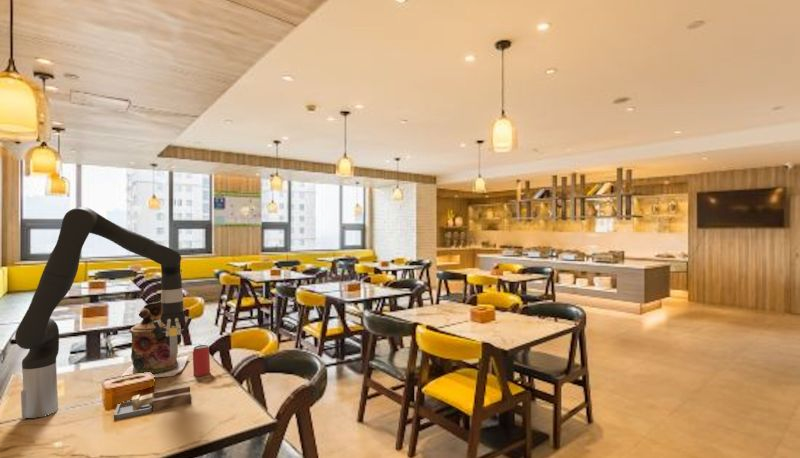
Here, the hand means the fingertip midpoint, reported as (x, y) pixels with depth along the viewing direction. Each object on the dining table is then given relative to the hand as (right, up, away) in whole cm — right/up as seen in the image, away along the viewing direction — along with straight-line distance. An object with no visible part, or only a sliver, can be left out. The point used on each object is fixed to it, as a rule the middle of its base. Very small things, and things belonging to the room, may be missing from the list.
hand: (173, 344), depth 166 cm
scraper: (0, -3, 0) cm, 3 cm away
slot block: (+4, -19, -9) cm, 21 cm away
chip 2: (-3, -17, -13) cm, 22 cm away
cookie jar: (-23, -19, +27) cm, 40 cm away
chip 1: (-5, -17, -14) cm, 22 cm away
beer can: (+1, -19, +21) cm, 28 cm away
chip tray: (-6, -19, -14) cm, 25 cm away
